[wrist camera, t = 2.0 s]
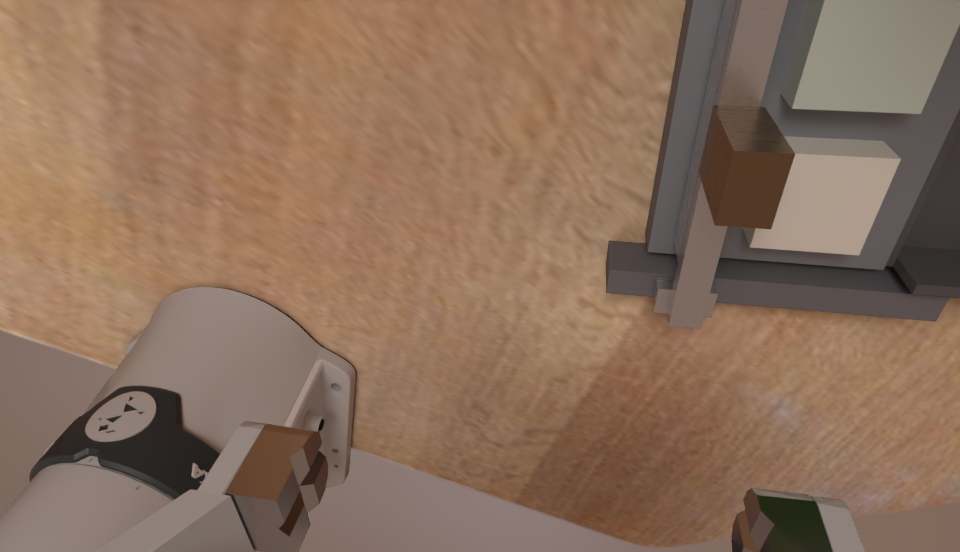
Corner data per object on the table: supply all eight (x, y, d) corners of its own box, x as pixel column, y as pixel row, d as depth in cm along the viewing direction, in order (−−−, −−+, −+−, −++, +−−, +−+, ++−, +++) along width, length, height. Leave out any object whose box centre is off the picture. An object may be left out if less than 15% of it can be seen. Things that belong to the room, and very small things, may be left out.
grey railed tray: (911, 287, 33) (935, 321, 31) (605, 263, 36) (606, 292, 33) (1148, -170, 21) (1218, -173, 19) (662, -160, 24) (669, -161, 21)
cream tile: (845, 233, 30) (859, 255, 28) (742, 226, 31) (749, 247, 29) (883, 141, 27) (901, 159, 25) (768, 135, 28) (778, 152, 26)
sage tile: (900, 97, 26) (920, 113, 24) (780, 93, 26) (791, 108, 25) (952, -30, 23) (979, -21, 21) (815, -31, 24) (831, -22, 22)
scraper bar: (705, 294, 33) (729, 395, 27) (650, 289, 33) (662, 387, 27) (826, -164, 21) (920, -171, 15) (738, -162, 21) (794, -168, 15)
